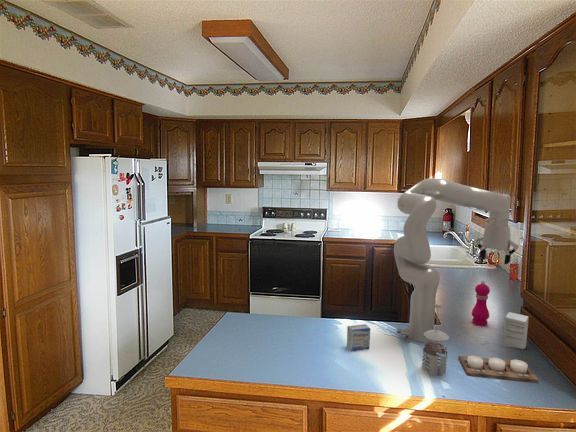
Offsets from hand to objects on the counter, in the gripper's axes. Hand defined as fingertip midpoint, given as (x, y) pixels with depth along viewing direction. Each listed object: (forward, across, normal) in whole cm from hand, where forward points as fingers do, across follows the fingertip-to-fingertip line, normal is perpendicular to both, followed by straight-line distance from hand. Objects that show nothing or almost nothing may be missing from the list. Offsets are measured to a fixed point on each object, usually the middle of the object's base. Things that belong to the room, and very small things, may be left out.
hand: (494, 261), depth 175 cm
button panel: (+30, +18, -40) cm, 53 cm away
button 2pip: (+29, +23, -36) cm, 52 cm away
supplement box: (+30, +15, -12) cm, 36 cm away
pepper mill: (+30, -4, +1) cm, 30 cm away
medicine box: (+31, -26, -60) cm, 72 cm away
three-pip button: (+29, +12, -44) cm, 54 cm away
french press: (+31, +4, -57) cm, 65 cm away
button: (+29, +18, -40) cm, 52 cm away
